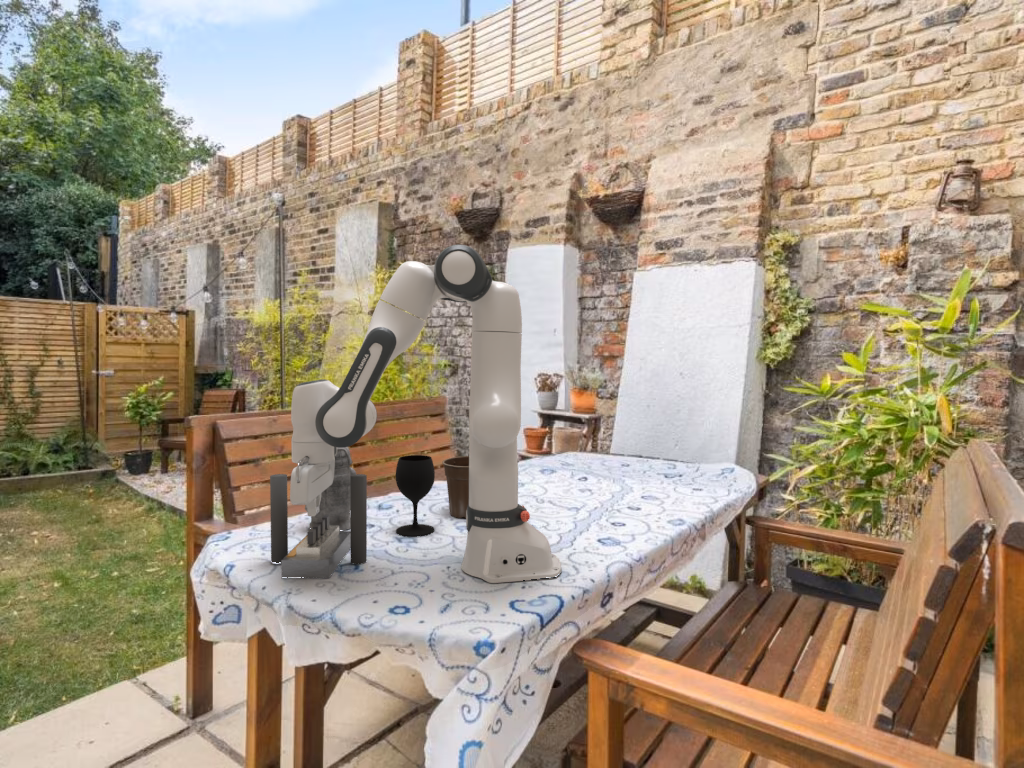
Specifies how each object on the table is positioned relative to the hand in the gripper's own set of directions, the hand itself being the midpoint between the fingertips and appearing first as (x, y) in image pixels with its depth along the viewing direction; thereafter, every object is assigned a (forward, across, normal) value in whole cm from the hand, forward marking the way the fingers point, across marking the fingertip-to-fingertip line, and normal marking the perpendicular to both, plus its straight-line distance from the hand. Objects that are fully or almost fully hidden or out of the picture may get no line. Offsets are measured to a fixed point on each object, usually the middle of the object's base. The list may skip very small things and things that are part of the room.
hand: (313, 514), depth 129 cm
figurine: (+12, +30, +4) cm, 33 cm away
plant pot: (+12, +44, -33) cm, 56 cm away
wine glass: (+12, +27, -19) cm, 35 cm away
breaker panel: (+12, +4, 0) cm, 13 cm away
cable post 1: (+12, +4, +9) cm, 16 cm away
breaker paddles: (+6, +4, 0) cm, 7 cm away
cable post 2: (+12, +4, -9) cm, 16 cm away
